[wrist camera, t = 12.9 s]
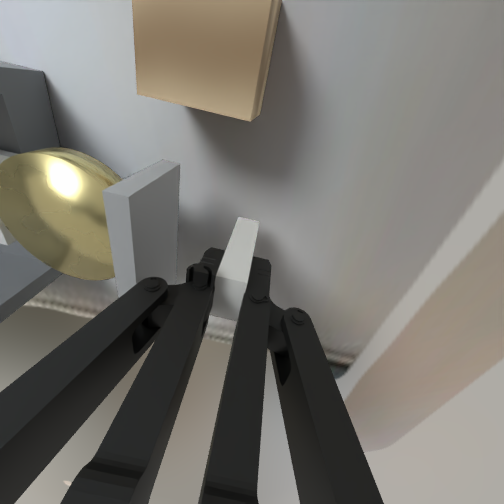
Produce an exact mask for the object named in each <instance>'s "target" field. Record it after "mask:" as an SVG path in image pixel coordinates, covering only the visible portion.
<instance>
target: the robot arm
mask: <svg viewBox="0 0 504 504" xmlns="http://www.w3.org/2000/svg"><path fill="white" fill-rule="evenodd" d="M259 222H260V221H255V220H251V219H247V218H242V217H238V219H237V222H236V224H235V227H234V230H233V232H232V235H231V238H230V240H229V243H228V245H227V248H226V251H225V250H221V249H216V248H212V247H211V248H210V249H208V250H207V251H205V253H204V255H203V258H202V259H201V262H200V263H198V264H193V265H191V266H189V267H188V268H187V274H186V283H184V284H179V285H168V284H167V282H166V280H164V279H162V278H160V277H148V278H145V279H143V280H141V281H140V282H138V283H137V284H136V285H135V286H133V287H132V288H131V289H130V290H128V291H127V292H126V293H125V294H123V295H122V296H121V297H120V298H118V299H117V300H116V301H115V302H113V303H112V304H111V305H110V306H108V307H107V308H106V309H104V310H103V311H102V312H101V313H99V314H98V315H97V316H96V317H94V318H93V319H92V320H91V321H89V322H88V323H87V324H86V325H84V326H83V327H82V328H81V329H79V330H78V331H77V332H76V333H74V334H73V335H72V336H71V337H69V338H68V339H67V340H66V341H64V342H63V343H62V344H61V345H59V346H58V347H57V348H55V349H54V350H53V351H52V352H51V353H49V354H48V355H47V356H46V357H44V358H43V359H42V360H40V361H39V362H38V363H37V364H36V365H34V366H33V367H32V368H30V369H29V370H28V371H27V372H25V373H24V374H23V375H22V376H20V377H19V378H18V379H17V380H15V381H14V382H13V383H12V384H10V385H9V386H8V387H6V388H5V389H4V390H3V391H1V392H0V504H14V503H15V502H16V501H17V500H18V498H19V497H20V496H21V495H22V494H23V493H24V492H25V490H26V489H27V488H28V487H29V486H30V485H31V483H32V482H33V481H34V480H35V479H36V478H37V476H38V475H39V474H40V473H41V472H42V471H43V470H44V468H45V467H46V466H47V465H48V464H49V463H50V462H51V460H52V459H53V458H54V457H55V456H56V454H57V453H58V452H59V451H60V450H61V449H62V448H63V446H64V445H65V444H66V443H67V442H68V441H69V439H70V438H71V437H72V436H73V435H74V434H75V433H76V431H77V430H78V429H79V428H80V427H81V426H82V424H83V423H84V422H85V421H86V420H87V419H88V417H89V416H90V415H91V414H92V413H93V412H94V411H95V409H96V408H97V407H98V406H99V405H100V403H101V402H102V401H103V400H104V399H105V398H106V397H107V396H108V394H109V393H110V392H111V391H112V390H113V389H114V387H115V386H116V385H117V384H118V383H119V382H120V380H121V379H122V378H123V377H124V376H125V375H126V374H127V372H128V371H129V370H130V369H131V368H132V366H133V365H134V364H135V363H136V362H137V361H138V360H139V358H140V357H141V356H142V355H143V354H144V353H145V351H146V350H147V349H148V348H149V347H150V346H151V345H152V343H153V342H154V341H155V342H154V344H153V346H152V348H151V350H150V352H149V354H148V356H147V358H146V359H145V361H144V363H143V365H142V367H141V369H140V371H139V373H138V375H137V377H136V379H135V380H134V382H133V384H132V386H131V388H130V390H129V392H128V394H127V396H126V397H125V399H124V401H123V403H122V405H121V407H120V409H119V411H118V413H117V415H116V417H115V418H114V420H113V422H112V424H111V426H110V428H109V430H108V432H107V434H106V436H105V437H104V439H103V441H102V443H101V445H100V447H99V449H98V451H97V453H96V454H95V456H94V457H93V459H92V460H91V461H90V462H89V463H88V464H87V465H85V466H84V467H83V468H82V470H81V471H80V472H79V473H78V475H77V476H76V478H75V479H74V481H73V482H72V484H71V486H70V487H69V489H68V491H67V493H66V494H65V496H64V498H63V500H62V502H61V504H148V503H149V499H150V495H151V492H152V489H153V486H154V483H155V479H156V477H157V474H158V471H159V468H160V465H161V462H162V459H163V456H164V453H165V450H166V447H167V444H168V441H169V438H170V435H171V432H172V429H173V426H174V423H175V420H176V417H177V414H178V411H179V408H180V405H181V402H182V399H183V396H184V393H185V390H186V387H187V384H188V381H189V378H190V375H191V372H192V369H193V366H194V363H195V360H196V357H197V354H198V351H199V348H200V345H201V342H202V339H203V336H204V333H205V330H206V327H207V324H208V318H209V315H212V316H216V317H221V318H225V319H229V320H234V321H237V325H236V329H235V333H234V337H233V343H232V348H231V352H230V357H229V362H228V366H227V371H226V376H225V381H224V385H223V390H222V394H221V399H220V404H219V408H218V413H217V418H216V422H215V427H214V432H213V436H212V441H211V446H210V451H209V455H208V460H207V465H206V469H205V474H204V478H203V483H202V488H201V493H200V497H199V502H198V504H259V503H258V499H257V482H258V468H259V467H258V466H259V454H260V440H261V426H262V412H263V399H264V385H265V371H266V357H267V348H268V349H270V353H271V358H272V364H273V369H274V373H275V378H276V384H277V389H278V393H279V399H280V404H281V409H282V414H283V419H284V424H285V429H286V434H287V439H288V444H289V449H290V454H291V460H292V464H293V470H294V475H295V479H296V485H297V490H298V495H299V500H300V504H384V503H383V500H382V498H381V495H380V493H379V490H378V488H377V485H376V483H375V480H374V478H373V475H372V473H371V470H370V467H369V465H368V462H367V460H366V457H365V455H364V452H363V450H362V447H361V445H360V442H359V440H358V437H357V435H356V432H355V429H354V427H353V424H352V422H351V419H350V417H349V414H348V412H347V409H346V407H345V404H344V402H343V399H342V397H341V394H340V391H339V389H338V386H337V384H336V381H335V379H334V376H333V374H332V371H331V369H330V366H329V364H328V361H327V359H326V356H325V354H324V351H323V348H322V346H321V343H320V341H319V338H318V336H317V333H316V331H315V328H314V326H313V323H312V321H311V318H310V317H309V315H308V314H307V313H306V312H305V311H303V310H301V309H299V308H288V309H287V310H283V309H281V308H279V307H277V306H276V305H275V304H274V303H273V302H272V301H271V300H270V297H269V289H270V276H271V264H270V262H269V260H266V259H262V258H258V257H253V252H254V247H255V242H256V237H257V232H258V227H259Z"/></svg>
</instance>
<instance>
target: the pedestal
mask: <svg viewBox="0 0 504 504" xmlns="http://www.w3.org/2000/svg"><path fill="white" fill-rule="evenodd" d="M281 3H282V0H132V9H133V27H134V45H135V63H136V81H137V94H138V95H142V96H147V97H151V98H155V99H159V100H163V101H167V102H171V103H175V104H180V105H184V106H188V107H192V108H196V109H200V110H204V111H208V112H213V113H217V114H221V115H225V116H229V117H233V118H237V119H241V120H246V121H252V120H253V119H255V118H256V117H257V116H259V115H260V112H261V107H262V102H263V97H264V91H265V86H266V81H267V76H268V71H269V65H270V60H271V55H272V50H273V45H274V39H275V34H276V29H277V24H278V19H279V13H280V8H281Z"/></svg>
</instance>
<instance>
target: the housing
mask: <svg viewBox="0 0 504 504" xmlns="http://www.w3.org/2000/svg"><path fill="white" fill-rule="evenodd" d="M51 147H60V144H59V139H58V135H57V130H56V126H55V122H54V117H53V113H52V109H51V104H50V100H49V96H48V91H47V87H46V82H45V78H44V74H43V71H39V70H35V69H31V68H27V67H23V66H19V65H15V64H10V63H6V62H2V61H0V150H4V151H8V152H12V153H17V154H21V153H26V152H30V151H35V150H40V149H44V148H51ZM61 274H63V273H62V272H60V271H57V270H55V269H53V268H52V267H50V266H48V265H46V264H45V263H43V262H42V261H40V260H39V259H37V258H36V257H35V256H33V255H32V254H31V253H30V252H28V251H27V250H26V249H25V248H24V247H23V246H22V245H21V244H20V243H19V242H18V241H15V242H13V243H11V244H9V245H4V244H0V323H1V322H2V321H4V320H5V319H6V318H7V317H9V316H10V315H11V314H12V313H14V312H15V311H16V310H17V309H19V308H20V307H21V306H23V305H24V304H25V303H26V302H28V301H29V300H30V299H31V298H33V297H34V296H35V295H36V294H38V293H39V292H40V291H41V290H43V289H44V288H45V287H46V286H48V285H49V284H50V283H51V282H53V281H54V280H55V279H56V278H58V277H59V276H60V275H61Z"/></svg>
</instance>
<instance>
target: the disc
mask: <svg viewBox="0 0 504 504" xmlns="http://www.w3.org/2000/svg"><path fill="white" fill-rule="evenodd" d="M120 181H122V179H121V178H120V177H119V176H118V175H117V174H116V173H115V172H114V171H112V170H111V169H110V168H109V167H107V166H106V165H104V164H103V163H102V162H100V161H98V160H97V159H95V158H93V157H91V156H89V155H87V154H84V153H82V152H79V151H76V150H73V149H68V148H62V147H51V148H44V149H40V150H35V151H30V152H26V153H21V154H17V155H14V156H11V157H9V158H7V159H6V160H4V161H3V162H2V163H1V164H0V217H1V219H2V221H3V223H4V224H5V226H6V227H7V229H8V230H9V231H10V233H11V234H12V235H13V236H14V238H15V239H16V240H17V241H18V242H19V243H20V244H21V245H22V246H23V247H24V248H25V249H26V250H27V251H28V252H30V253H31V254H32V255H33V256H35V257H36V258H37V259H39V260H40V261H42V262H43V263H45V264H46V265H48V266H50V267H52V268H53V269H55V270H57V271H60V272H62V273H64V274H67V275H70V276H72V277H76V278H80V279H85V280H106V279H110V278H113V277H115V272H114V266H113V259H112V253H111V246H110V240H109V233H108V227H107V220H106V214H105V207H104V200H103V194H102V190H104V189H106V188H108V187H110V186H112V185H114V184H116V183H118V182H120Z"/></svg>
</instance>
